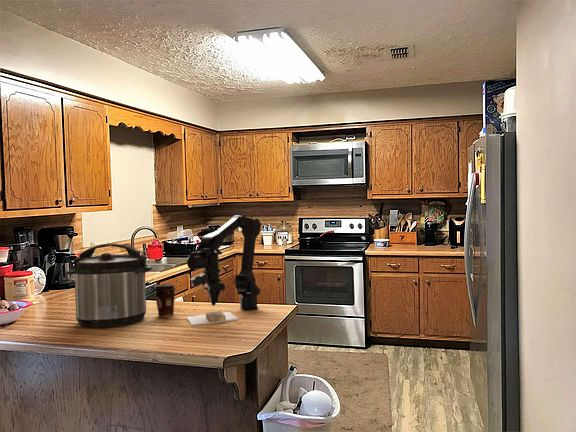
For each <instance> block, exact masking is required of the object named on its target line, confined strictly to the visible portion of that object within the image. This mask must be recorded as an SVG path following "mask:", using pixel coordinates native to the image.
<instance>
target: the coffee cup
mask: <svg viewBox="0 0 576 432" xmlns="http://www.w3.org/2000/svg"><path fill="white" fill-rule="evenodd" d="M153 291H154V292H156V293H155V302H156V307H157V308H156V309H157V311H158V312H157V313H158V317H161V318H165V317H166V318H167V317H172V316H174V315H175V313H174V312H175V293H176V292H175V291H176V288H175V286H174V284H172V283H171V284H169V283H162V284H157V285H156V286H155V288H154V290H153Z"/></svg>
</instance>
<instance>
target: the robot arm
mask: <svg viewBox="0 0 576 432" xmlns="http://www.w3.org/2000/svg"><path fill="white" fill-rule="evenodd" d="M238 228H240V229H241V234H242V236H243V246H242V247H243V248H242V255H241V256H242V258H241V267H240V272H239V273H238V274H237V273H236V274H235V276H234V277H235V279H234V280H235V281H234V285H235V289H236V292H237V294H238V295H240V298H239V305H240V309H242V310H243V311H253V310H259V307H258V296H259V295H260V292H261V289H260V288H259V287H258V285H257V284H256V276H255V275H254V272H253V268H254V259H255V248H256V239H257V238H258V236H259V234H260V232H261V230H262V229H261V228H262V223H261V221H260V219H258V218H253V217H252V218H250V217H248V216H247V217H246V216H244V215H242V214H241V215H240V214H239V215H238V214H237V215H232V217H231V218H230V219H229V220H228V221H227V222H226V223H224V224H223V225H221V226H220V227H219V228H218V229H217V230H215V231H213V232H210V233H206V234H205V235H203V236H202V238H201V239H200V242H199V245H198V246H197V249H196V251H194V252H193V251H192V252H191V251H190V254H189V256H188V257H187V260H186V265H187V267H188V269H189V270H191V271H194V270H196V271H197V270H200V269H203V270H202V273H200V274H198V275H195V276H193V277H191V278H190V281H191V284H192V286H193V287H194V288H197V287H199V286H202V287H203V286H204V285H205V287H203V289H204V290H206V292H207V294H208V297H209V299H210V302H211V306H216V304H217V301H218V299H219V296H220V293H221V292H222V291H225V290H226V285H225V283H223V282H222V280H221V278H220V272H221V269H220V261H219V260H220V259H219V255H223V252H222V251H221V250H220V248H221V247H222V245H223V244H224V241H225V239H226V238H228V237H229V236H230V235H231V234H232V233H234V232H235V231H236V230H237V229H238Z"/></svg>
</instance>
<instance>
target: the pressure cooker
mask: <svg viewBox="0 0 576 432" xmlns="http://www.w3.org/2000/svg"><path fill="white" fill-rule="evenodd" d="M107 247H114V248H121V249H125V251H126V252H127V254H124V253H122V254H119V253H118V254H117V253H116V254H115V253H113V254H112V253H110V252H104V253H102V254H100V255H93V254H94V253H95V251H96V249H101V248H107ZM78 256H79V257H75V258H74V259H73V268H74V269H71V270H70V269H69V270H67V271H66V275H74V295H75V297H74V298H75V318H76V319H75V320H76V321H77V322H78V324H79V325H81V326H89V327H90V328H91V327H93V328H108V327H118V326H124V325H130V324H134V323H137V322H139V321H141V320H143V319H144V317H145V315H146V312H147V294H146V291H147V290H146V273H148V272H150V271H151V270H152V271H153V266H151V265H147V255H145V254H141V251H140V250H138V249H137V248H135V247H133V246H130V245H126V244H119V243H105V244H99V245H95V246H91V247H90V248H88V249H85V250H84V251H82V252H81V253H79V255H78Z"/></svg>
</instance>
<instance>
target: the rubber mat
mask: <svg viewBox="0 0 576 432" xmlns="http://www.w3.org/2000/svg"><path fill="white" fill-rule="evenodd" d="M222 313H223V314H224V315H225V320H223V321H215V322H209V321H208V320H207V319H206V314H199V315H198V314H197V315H191V316H190V315H189V316H186V317H185V318H186V320H187V321H188V322H189V324H190V325H191V326H192V327H193V326H194V327H197V326H202V325H203V326H204V325H210V324H211V325H212V324H219V323H225V322H233V321H239V318H238V317H237V316H236V315H234V314H233V313H231V312H230V311H224V312H222Z"/></svg>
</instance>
